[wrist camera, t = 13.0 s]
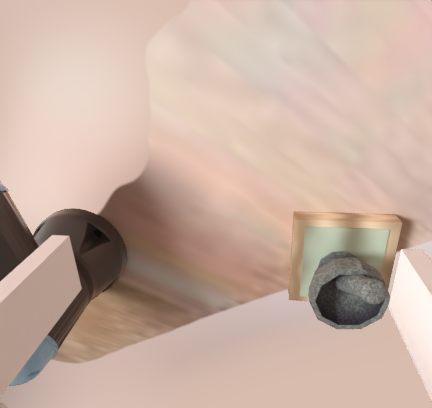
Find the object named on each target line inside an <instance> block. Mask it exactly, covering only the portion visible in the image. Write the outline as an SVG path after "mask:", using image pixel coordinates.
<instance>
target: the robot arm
mask: <svg viewBox="0 0 432 408" xmlns="http://www.w3.org/2000/svg"><path fill="white" fill-rule="evenodd" d="M126 260H127V254H126V248H125V245H124V242H123V240H122V238H121V237H120V235H119V233H118V232H117V231H116V230H115V228H114V227H113V226H112V225H111V224H110V223H108V222H107V221H106V220H105V219H103V218H102V217H100V216H98V215H96V214H94V213H91V212H88V211H86V210H81V209H64V210H60V211H57V212H55V213H53V214H52V215H50V216H49V217H48V218H47V219H45V220H44V221H43V222H42V223H41V224H40V225H39V226H38V227H37V229H36V231H35V233H34V235H32V234H31V232H30V230H29V229H28V227H27V225H26V223H25V222H24V220H23V218H22V216H21V215H20V213H19V211H18V209H17V208H16V206H15V205H14V202H13V201H12V199H11V197H10V195H9V194H8V189H7V188H6V187H4V186H3V185H2V183H1V182H0V397H1V396H2V394H3V393H4V392H5V390H6V389H7V388H8V386H15V385H20V384H23V383H26V382H28V381H30V380H32V379H33V378H35V377H36V376H37V375H38V374H39V373H40V372H41V371H42V369H43V368H44V367H45V365H46V364H47V363H48V362H49V361H50V359H51V358H53V357H54V356H55V355H56V354H57V351H58V349H59V347H60V346H61V344H62V343H63V341H64V340H65V338H66V337H67V335H68V334H69V332H70V331H71V329H72V328H73V326H74V325H75V323H76V322H77V320H78V318H79V317H80V315H81V314H82V312H83V311H84V309H85V308H86V306H87V305H88V304H89V302H90V301H91V300H92V299H94V298H95V297H97V296H98V295H99V294H101V293H102V292H104V291H106V290H107V289H109V288H110V287H111V286H113V285H114V284H115V282H116V281H117V280H118V279H119V277H120V275H121V274H122V272H123V270H124V268H125V265H126ZM388 308H389V311H390V313H391V315H392V317H393V319H394V321H395V323H396V325H397V328H398V330H399V332H400V334H401V336H402V338H403V341H404V343H405V345H406V347H407V349H408V351H409V354H410V356H411V358H412V360H413V362H414V365H415V367H416V369H417V371H418V373H419V375H420V377H421V380H422V382H423V384H424V386H425V388H426V390H427V393H428V394H429V397H430V399H431V401H432V261H431V259H430V258H429V257H428V255H427V254H426V253H425V252H424V250H412V249H401V252H400V257H399V261H398V265H397V270H396V275H395V279H394V284H393V288H392V292H391V297H390V301H389V306H388Z"/></svg>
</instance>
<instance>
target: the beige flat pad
mask: <svg viewBox="0 0 432 408" xmlns="http://www.w3.org/2000/svg"><path fill="white" fill-rule="evenodd" d="M401 227H402V222H401V220H400V219H399V218H398V216H397V215H395V214H359V213H323V212H294V215H293V229H292V244H291V259H290V273H289V288H288V291H289V300H300V301H309V296H308V293H309V286H310V284H311V281H312V278H313V275H314V273H315V270H316V269H317V268H318V265H319V262H320V260H321V259H322V258H323V257H325V256H326V255H328V254H330V253H331V252H340V251H347V252H349V253H351V254H352V255H354V256H356V257H358V259H360V260H361V261H363V262H365V263H367V264H369V265H371V266H372V267H374V268H376V269H377V270H378V272H379V273H380V274H381V275H382V277H383V279H384V282H385V284H386V287H387V290H388V287H389V282H390V277H391V273H392V268H393V264H394V259H395V255H396V250H397V245H398V241H399V236H400V231H401Z"/></svg>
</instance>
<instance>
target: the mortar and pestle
mask: <svg viewBox="0 0 432 408" xmlns="http://www.w3.org/2000/svg"><path fill="white" fill-rule="evenodd" d="M308 296H309V302H310V303H311V306H312V308H313V310H314V312H315V314H316V317H317V319H319V320H320V321H322V322H325V323H326V324H328V325H330V326H332V327H334V328H336V329H362V328H363V327H366V326H367V325H369V324H371V323H373V322H375V321H377V320H379V319H381V318H382V316H383V315H384V313H385V311H386V309H387V307H388V305H389V301H390V295H389V293H388V290H387V287H386V284H385V282H384V279H383V277H382V275H381V274H380V273H379V272H378V270H377V269H376V268H374V267H372V266H371V265H369V264H367V263H365V262H363V261H361V260H360V259H358V257H356V256H354V255H352V254H351V253H349V252H347V251H340V252H331V253H330V254H328V255H326V256H325V257H323V258H322V259H321V260H320V262H319V265H318V268H317V269H316V270H315V273H314V275H313V278H312V281H311V284H310V286H309V293H308Z"/></svg>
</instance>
